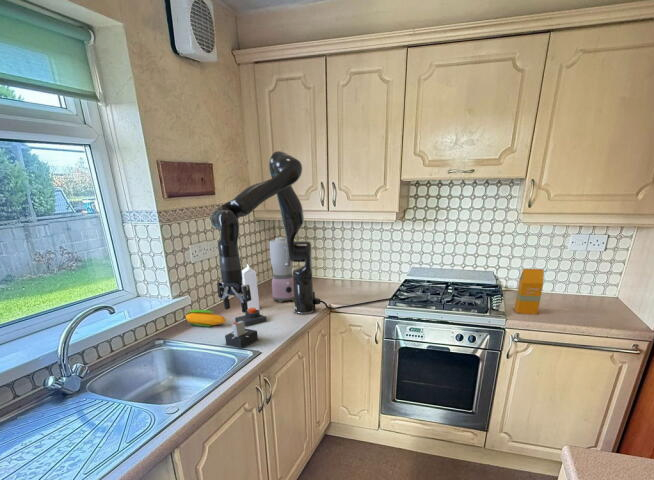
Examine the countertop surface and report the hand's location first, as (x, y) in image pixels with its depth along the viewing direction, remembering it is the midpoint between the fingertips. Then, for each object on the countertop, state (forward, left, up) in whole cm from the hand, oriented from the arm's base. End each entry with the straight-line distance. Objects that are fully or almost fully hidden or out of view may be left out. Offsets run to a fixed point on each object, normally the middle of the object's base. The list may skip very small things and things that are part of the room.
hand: (236, 310), depth 156 cm
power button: (-20, -23, -10) cm, 32 cm away
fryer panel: (-2, -1, -14) cm, 14 cm away
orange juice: (-121, +58, -14) cm, 134 cm away
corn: (-1, -30, -14) cm, 33 cm away
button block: (-18, -21, -14) cm, 31 cm away
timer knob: (0, 0, -10) cm, 10 cm away
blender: (-50, -39, -14) cm, 65 cm away
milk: (-29, -38, -14) cm, 50 cm away
